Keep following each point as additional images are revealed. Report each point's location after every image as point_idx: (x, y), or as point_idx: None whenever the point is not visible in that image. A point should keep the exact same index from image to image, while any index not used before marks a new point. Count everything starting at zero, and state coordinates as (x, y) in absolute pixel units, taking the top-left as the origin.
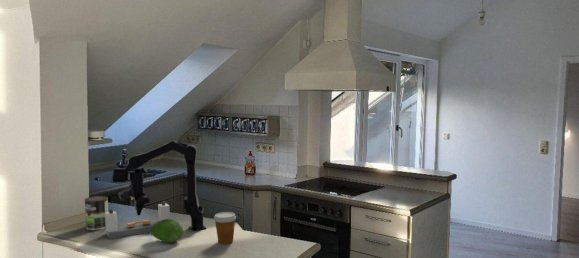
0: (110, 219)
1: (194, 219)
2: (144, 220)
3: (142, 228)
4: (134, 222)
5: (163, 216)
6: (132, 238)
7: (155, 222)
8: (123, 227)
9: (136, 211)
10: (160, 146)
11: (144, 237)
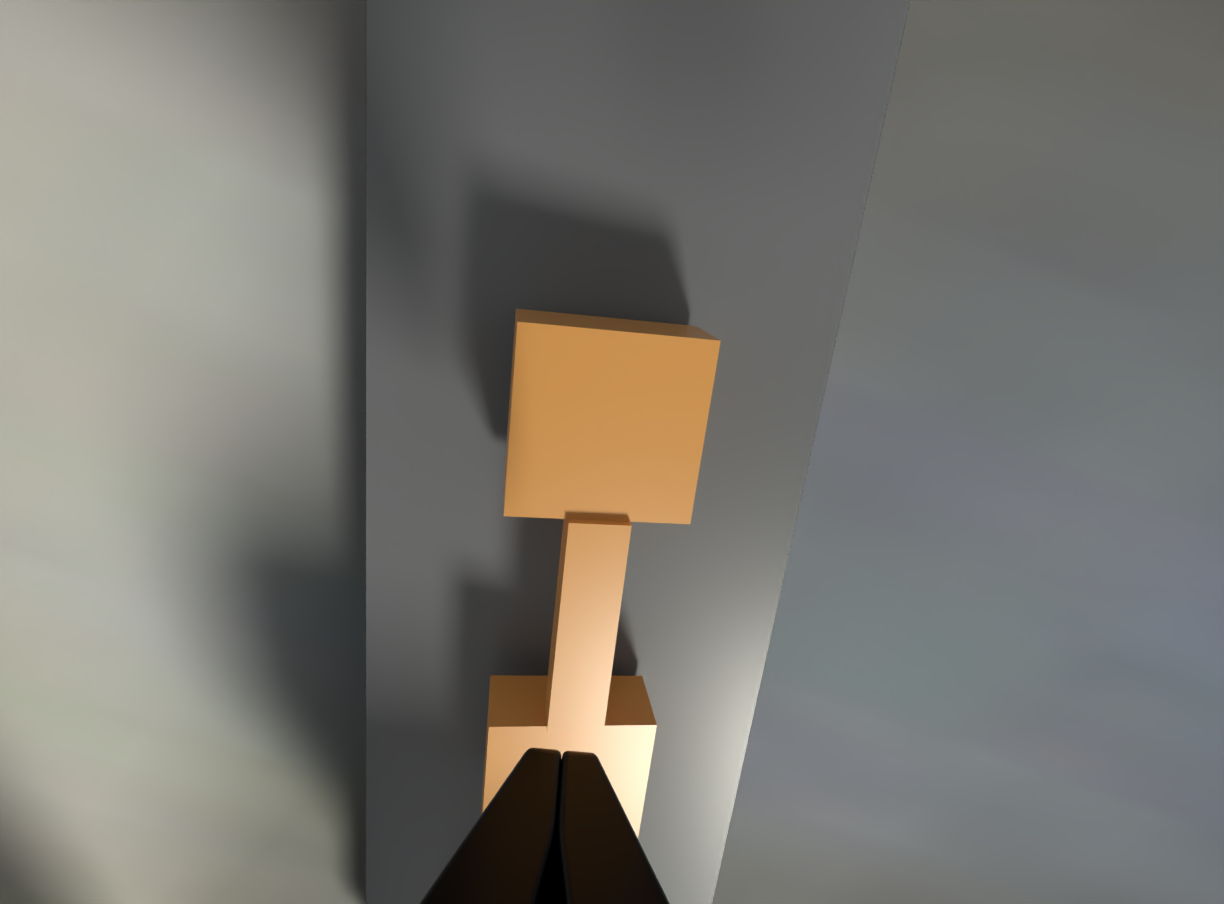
0: None
1: None
2: (639, 769)
3: (372, 568)
4: (584, 521)
5: None
6: (150, 226)
7: None
8: (701, 218)
9: (564, 863)
10: None
11: (92, 448)
